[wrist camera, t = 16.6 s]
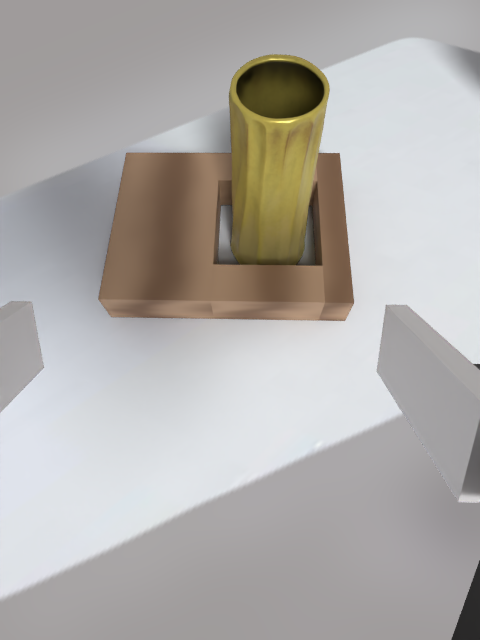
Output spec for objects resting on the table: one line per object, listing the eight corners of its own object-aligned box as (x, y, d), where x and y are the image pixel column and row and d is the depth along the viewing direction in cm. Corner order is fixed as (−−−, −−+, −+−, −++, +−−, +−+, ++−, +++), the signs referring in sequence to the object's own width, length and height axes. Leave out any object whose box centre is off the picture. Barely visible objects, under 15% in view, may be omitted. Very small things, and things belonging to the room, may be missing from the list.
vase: (261, 203, 36) (269, 34, 23) (318, 239, 34) (362, 79, 21) (216, 249, 34) (196, 93, 21) (274, 290, 33) (292, 147, 20)
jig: (111, 317, 32) (98, 299, 29) (135, 178, 38) (126, 152, 35) (344, 320, 31) (354, 303, 29) (333, 179, 37) (339, 153, 34)
